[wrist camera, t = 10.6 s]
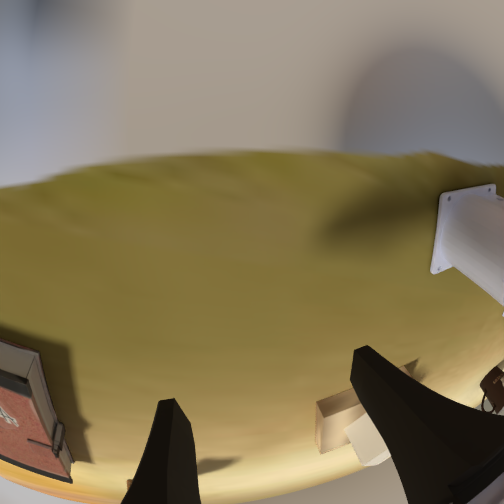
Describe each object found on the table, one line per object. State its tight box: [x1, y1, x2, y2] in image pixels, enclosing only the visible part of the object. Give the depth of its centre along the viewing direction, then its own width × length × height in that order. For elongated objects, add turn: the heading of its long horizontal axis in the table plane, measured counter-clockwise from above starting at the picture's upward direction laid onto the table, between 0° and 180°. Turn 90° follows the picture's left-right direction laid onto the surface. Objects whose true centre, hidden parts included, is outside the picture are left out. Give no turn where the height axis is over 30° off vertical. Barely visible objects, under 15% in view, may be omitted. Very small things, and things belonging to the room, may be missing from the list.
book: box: [0, 338, 74, 484], centre depth 20 cm, size 26×18×5 cm
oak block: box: [315, 366, 413, 454], centre depth 33 cm, size 12×12×3 cm
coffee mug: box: [480, 366, 504, 415], centre depth 43 cm, size 12×9×10 cm
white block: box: [344, 412, 391, 466], centre depth 29 cm, size 4×4×6 cm
